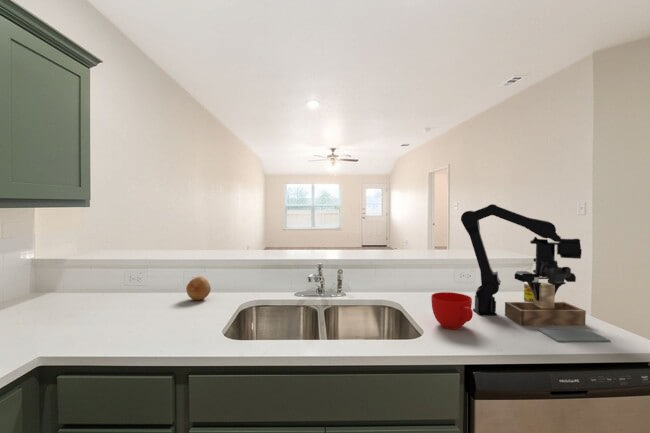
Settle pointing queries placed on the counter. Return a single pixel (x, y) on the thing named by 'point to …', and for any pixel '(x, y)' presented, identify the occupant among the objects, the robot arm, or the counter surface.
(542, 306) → the maple block
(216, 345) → the counter surface
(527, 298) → the supplement bottle
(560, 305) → the walnut crate
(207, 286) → the onion
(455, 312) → the ceramic cup
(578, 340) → the slate mat
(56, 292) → the counter surface
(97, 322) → the counter surface
